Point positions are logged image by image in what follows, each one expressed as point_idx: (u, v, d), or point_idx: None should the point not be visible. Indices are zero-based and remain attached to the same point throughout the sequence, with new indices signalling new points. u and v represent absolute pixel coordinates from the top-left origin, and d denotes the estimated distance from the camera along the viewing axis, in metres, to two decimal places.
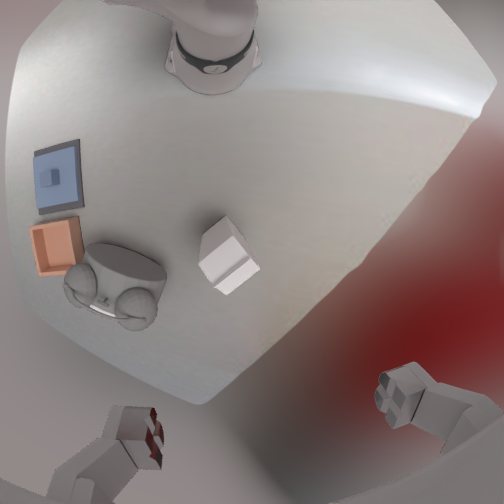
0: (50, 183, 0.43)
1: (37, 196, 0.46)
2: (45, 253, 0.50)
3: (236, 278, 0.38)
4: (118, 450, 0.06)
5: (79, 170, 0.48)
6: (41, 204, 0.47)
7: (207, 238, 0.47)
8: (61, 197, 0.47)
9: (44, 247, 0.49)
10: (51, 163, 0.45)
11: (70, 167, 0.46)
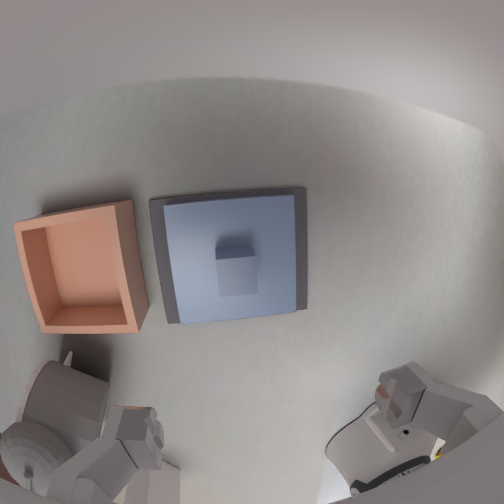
0: (222, 292, 0.22)
1: (192, 209, 0.23)
2: None
3: None
4: (118, 450, 0.06)
5: None
6: (173, 221, 0.23)
7: (156, 498, 0.26)
8: (188, 284, 0.25)
9: None
10: (269, 254, 0.25)
11: (252, 306, 0.26)
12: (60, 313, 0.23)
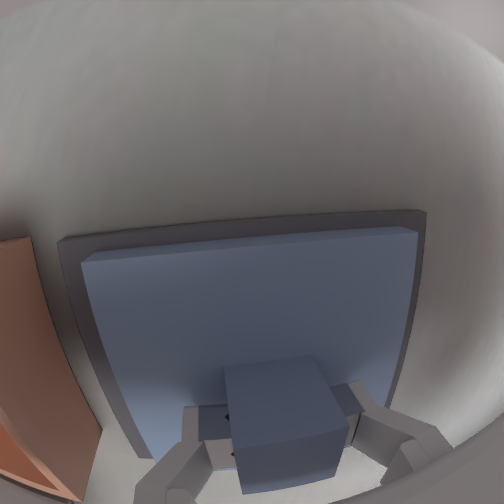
0: (251, 489, 0.06)
1: (158, 272, 0.08)
2: None
3: None
4: (201, 452, 0.06)
5: None
6: (109, 303, 0.08)
7: None
8: (166, 427, 0.10)
9: None
10: (350, 367, 0.10)
11: None
12: None
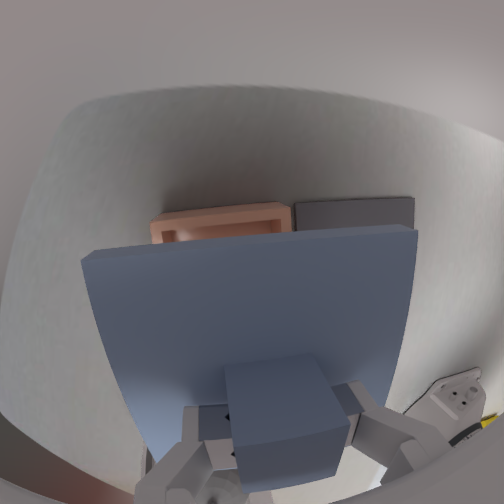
0: (251, 488, 0.06)
1: (157, 270, 0.08)
2: None
3: None
4: (201, 452, 0.06)
5: None
6: (109, 301, 0.08)
7: (255, 497, 0.28)
8: (166, 426, 0.10)
9: None
10: (350, 366, 0.10)
11: None
12: None
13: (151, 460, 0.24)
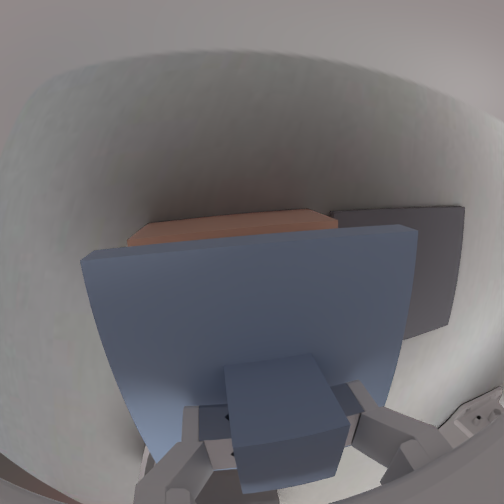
0: (251, 488, 0.06)
1: (157, 270, 0.08)
2: None
3: None
4: (201, 452, 0.06)
5: None
6: (109, 302, 0.08)
7: None
8: (166, 426, 0.10)
9: None
10: (350, 366, 0.10)
11: None
12: None
13: None
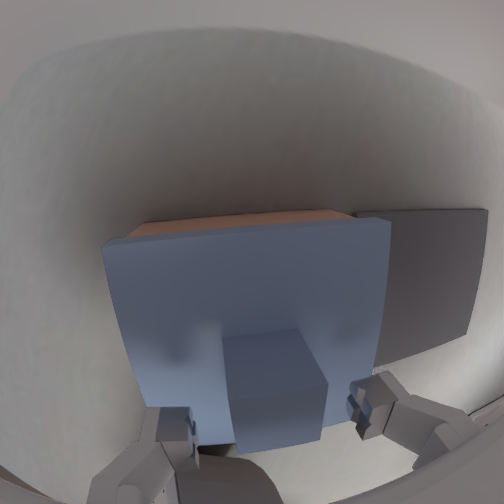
0: (245, 447, 0.08)
1: (167, 254, 0.10)
2: None
3: None
4: (158, 452, 0.06)
5: (419, 350, 0.20)
6: (125, 281, 0.10)
7: None
8: (170, 398, 0.11)
9: None
10: (333, 342, 0.12)
11: None
12: None
13: None
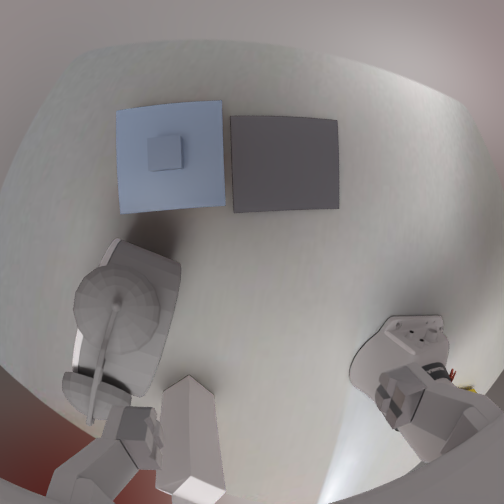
0: (151, 166, 0.23)
1: (138, 111, 0.25)
2: None
3: None
4: (118, 450, 0.06)
5: (293, 208, 0.36)
6: (122, 122, 0.25)
7: (196, 415, 0.33)
8: (129, 175, 0.26)
9: None
10: (199, 148, 0.27)
11: (184, 197, 0.28)
12: None
13: None
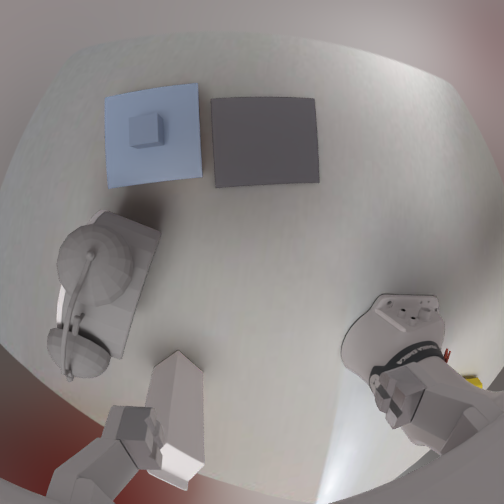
0: (132, 141, 0.25)
1: (124, 97, 0.26)
2: None
3: None
4: (118, 450, 0.06)
5: (272, 182, 0.37)
6: (110, 107, 0.26)
7: (181, 388, 0.35)
8: (115, 153, 0.28)
9: None
10: (178, 126, 0.28)
11: (164, 170, 0.29)
12: None
13: None
